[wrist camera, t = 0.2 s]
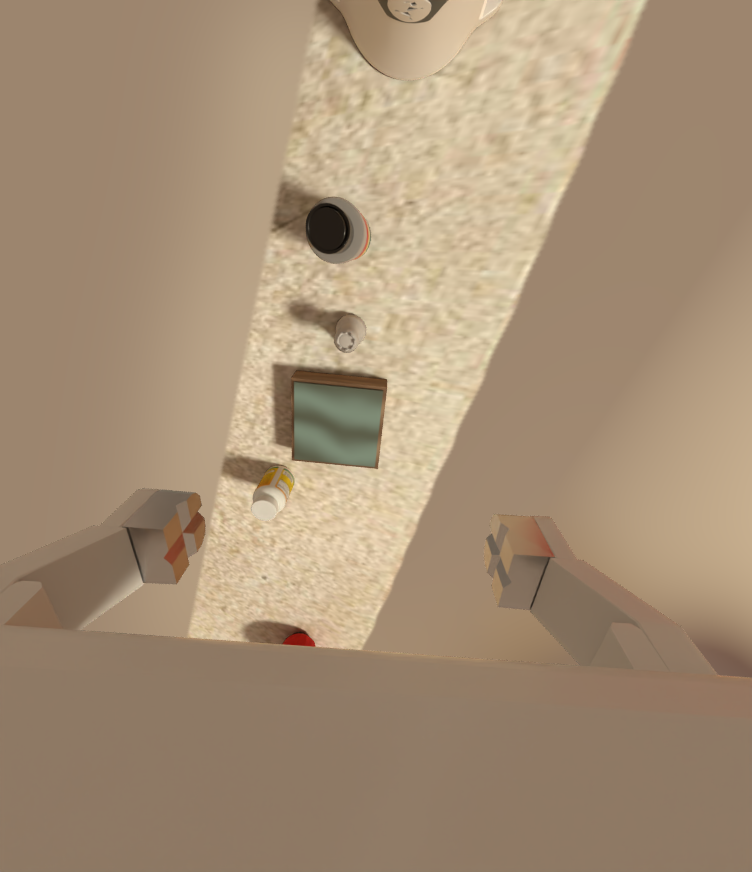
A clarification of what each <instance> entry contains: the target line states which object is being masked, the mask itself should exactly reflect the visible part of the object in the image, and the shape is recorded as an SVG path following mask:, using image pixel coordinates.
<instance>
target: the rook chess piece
mask: <svg viewBox="0 0 752 872" xmlns="http://www.w3.org/2000/svg"><path fill="white" fill-rule="evenodd" d="M365 335H366V326H365V323H364V321H363V320H362V319H361V318H360V317H358V316H356V315H352V314H348V315H345V316H343V317H342V318H341V319H340V320H339V321H338V323H337V325H336V333H335V336H334V343H335V346H336V347H337V348H338V349H339V350H340V351H342V352H345V353H349V352H352V351H354V350H355V349H356V348H357V346H358V344H360V343H361V342H362V341H363V340H364V338H365Z"/></svg>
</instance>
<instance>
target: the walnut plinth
mask: <svg viewBox="0 0 752 872" xmlns="http://www.w3.org/2000/svg"><path fill="white" fill-rule="evenodd" d="M386 392H387V380H386V379H376V378H366V377H357V376H347V375H337V374H327V373H317V372H307V371H296V372H295V373H294V375H293V376H292V377H291V404H292V460H294V461H304V462H315V463H325V464H335V465H345V466H356V467H366V468H376V469H378V462H379V453H380V445H381V436H382V427H383V418H384V409H385V401H386Z"/></svg>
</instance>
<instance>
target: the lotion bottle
mask: <svg viewBox="0 0 752 872" xmlns="http://www.w3.org/2000/svg"><path fill="white" fill-rule="evenodd" d="M306 236H307V240H308V243H309V245H310V247H311V249H312V250H313V252H314V253H315V254H316V255H317V256H318V257H319V258H321V259H322V260H324V261H326V262H328V263H333V264H341V263H345V262H349V261H352V260H355V259H357V258H359V257H361V256H362V255H363V254H364V253H365V252H366V251H367V249H368V247H369V245H370V241H371V231H370V227H369V224H368V222H367V221H366V219H365V218H364V217H363V215H362V214H361V213H360V212H359V210H358V209H357V208H356V207H355V206H354V205H353V204H352V203H350V202H349V201H347V200H345V199H343V198H340V197H328V198H325V199H322V200H321V201H319V202H318V203H317V204H315V205H314V207H313V208H312V209H311V211H310V213H309V214H308V217H307V220H306Z"/></svg>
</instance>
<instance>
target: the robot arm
mask: <svg viewBox="0 0 752 872" xmlns="http://www.w3.org/2000/svg"><path fill="white" fill-rule="evenodd" d="M330 1H331V2H332V3H333V4H334V5H335V7H336V8H337V9H338V10H339V11H340V12H341V13H342V15H343V16H344V18H345V21H346V23H347V25H348V28H349V30H350V33H351V35H352V37H353V39H354V42H355V43H356V45H357V47H358V49H359V50H360V52H361V53H362V55H363V56H364V57H365V58H366V59H367V61H368V62H369V63H370V64H371V65H372V66H373V67H375V68H376V69H377V70H379V71H380V72H382V73H383V74H385V75H387V76H389V77H392V78H395V79H400V80H417V79H422V78H425V77H428V76H430V75H432V74H434V73H436V72H438V71H439V70H441V69H442V68H443V67H445V66H446V65H447V64H448V63H449V62H450V61H451V60H452V59H453V58H454V57H455V56H456V55H457V53H458V52H459V51H460V49H461V48H462V46H463V45H464V43H465V42H466V40H467V39H468V37H469V36H470V35H471V33H472V32H473V31H474V30H475V28H477V27H478V26H480V25H481V24H482V23H484V22H485V21H487V20H488V19H489V18H491V17H492V16H493V15H494V14H495V13H496V12H497V11H498V10H499V8H500V6H501V4H502V0H330ZM201 506H202V504H201V499H200V495H198V494H197V493H193V492H182V491H172V490H158V489H146V488H142V489H138V490H137V491H136V492H135V493H133V495H132V496H130V497H129V498H128V499H127V500H126V501H125V502H124V503H123V504H122V505H121V506H120V507H119V508H118V509H117V510H115V511H114V513H112V515H110V516H109V517H108V518H107V519H106V520H105V521H104V522H103V523H102V524H101V525H100V526H91V527H88V528H86V529H84V530H81V531H79V532H77V533H74V534H72V535H70V536H67V537H65V538H62V539H60V540H58V541H55V542H53V543H51V544H49V545H46V546H44V547H41V548H39V549H36V550H34V551H32V552H30V553H27V554H25V555H22V556H20V557H18V558H15V559H13V560H11V561H8V562H6V563H3V564H1V565H0V872H752V678H748V677H734V676H720V675H718V674H717V673H716V672H715V670H714V669H713V668H712V666H711V665H710V664H709V663H708V661H707V660H706V659H705V657H704V656H703V655H702V654H701V652H700V651H699V650H698V648H697V647H696V646H695V644H694V643H693V642H692V641H691V639H690V638H689V637H688V635H687V634H686V633H685V631H684V630H683V629H682V627H681V626H679V625H678V624H677V623H675V622H674V621H672V620H671V619H669V618H668V617H666V616H665V615H664V614H662V613H661V612H659V611H657V610H656V609H655V608H653V607H652V606H650V605H648V604H647V603H646V602H644V601H643V600H641V599H640V598H638V597H637V596H635V595H634V594H633V593H631V592H630V591H628V590H627V589H625V588H624V587H622V586H621V585H619V584H618V583H616V582H615V581H613V580H612V579H610V578H609V577H607V576H606V575H604V574H603V573H602V572H600V571H599V570H597V569H596V568H594V567H593V566H591V565H590V564H588V563H587V562H585V561H584V560H577V558H576V557H575V555H574V554H573V552H572V550H571V549H570V547H569V545H568V544H567V542H566V540H565V539H564V537H563V536H562V534H561V532H560V530H559V529H558V528H557V526H556V524H555V522H554V521H553V519H552V518H550V517H548V516H517V515H501V514H494V515H493V517H492V518H491V522H490V529H491V531H492V534H491V535H489V536H488V537H487V538H486V542H485V546H484V561H485V567H486V570H487V573H488V574H489V575H490V576H491V577H493V581H492V585H491V587H492V590H493V593H494V597H495V600H496V603H497V606H498V607H503V608H513V609H523V610H531V611H530V612H531V613H532V614H533V615H534V616H535V617H536V618H537V620H538V621H540V623H541V624H542V625H543V626H544V627H545V628H546V629H547V630H548V631H549V632H550V634H551V635H552V636H553V637H554V638H555V639H556V640H557V641H558V642H559V643H560V644H561V646H562V647H563V648H564V649H565V650H566V651H567V652H568V653H569V654H570V655H571V656H572V657H573V659H574V660H575V661H576V662H577V663H578V664H579V665H580V666H578V665H565V664H550V663H536V662H522V661H521V662H520V661H508V660H493V659H479V658H465V657H451V656H436V655H423V654H410V653H395V652H381V651H368V650H354V649H339V648H325V647H311V646H297V645H283V644H269V643H254V642H240V641H226V640H212V639H198V638H183V637H168V636H155V635H141V634H127V633H112V632H98V631H85V630H81V629H82V628H84V627H85V626H86V625H88V624H89V623H91V622H92V621H93V620H95V619H96V618H98V617H99V616H100V615H102V614H103V613H104V612H106V611H107V610H109V609H110V608H112V607H113V606H114V605H116V604H117V603H118V602H120V601H121V600H123V599H124V598H125V597H127V596H128V595H130V594H131V593H133V592H134V591H135V590H137V589H138V588H139V587H141V586H142V585H143V583H159V584H177V583H178V582H179V580H180V578H181V577H182V575H183V574H184V572H185V571H186V569H187V567H188V566H189V560H188V557H190V556H192V555H193V554H195V553H196V552H198V550H199V548H200V547H201V545H202V543H203V539H204V536H205V527H206V526H205V519H204V517H203V516H202V515H201V514H200V513H199V512H198V510H199V509H200V507H201Z"/></svg>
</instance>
